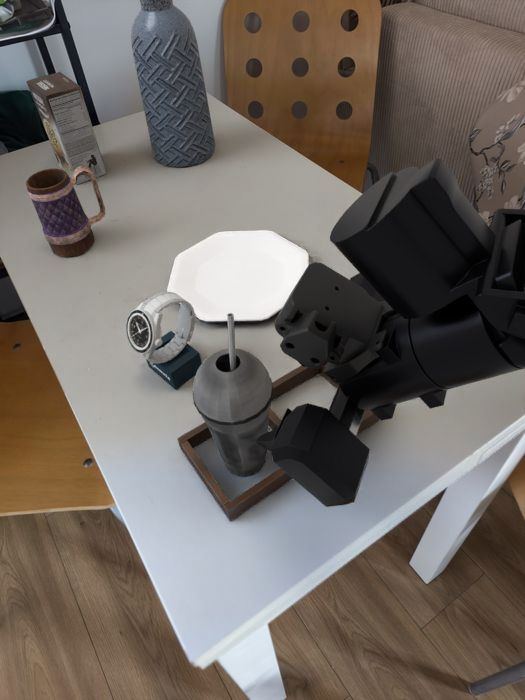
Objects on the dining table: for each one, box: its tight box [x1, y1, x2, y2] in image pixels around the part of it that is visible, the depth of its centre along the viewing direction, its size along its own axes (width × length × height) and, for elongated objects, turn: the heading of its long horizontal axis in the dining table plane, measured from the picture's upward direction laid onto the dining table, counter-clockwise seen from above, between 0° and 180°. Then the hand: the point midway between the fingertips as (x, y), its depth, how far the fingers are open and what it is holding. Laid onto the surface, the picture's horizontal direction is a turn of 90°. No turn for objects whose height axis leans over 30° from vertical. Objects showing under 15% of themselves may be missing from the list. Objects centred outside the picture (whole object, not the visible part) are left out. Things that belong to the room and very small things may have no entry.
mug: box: [25, 165, 106, 258], centre depth 79 cm, size 10×7×12 cm
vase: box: [130, 0, 216, 168], centre depth 91 cm, size 12×12×28 cm
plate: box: [166, 229, 310, 324], centre depth 74 cm, size 20×20×2 cm
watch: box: [125, 291, 203, 391], centre depth 60 cm, size 6×8×11 cm
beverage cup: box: [192, 313, 274, 478], centre depth 47 cm, size 7×7×20 cm
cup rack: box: [177, 364, 380, 522], centre depth 55 cm, size 10×19×2 cm, turn 125°
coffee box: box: [25, 71, 107, 185], centre depth 93 cm, size 9×6×16 cm
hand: (281, 400), depth 44 cm, fingers open, 9 cm apart
